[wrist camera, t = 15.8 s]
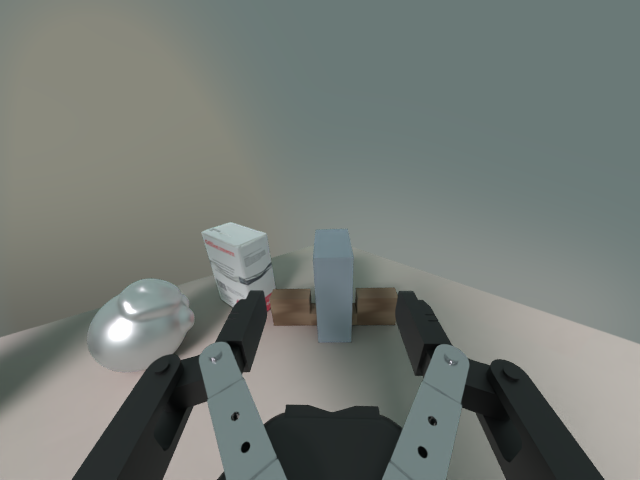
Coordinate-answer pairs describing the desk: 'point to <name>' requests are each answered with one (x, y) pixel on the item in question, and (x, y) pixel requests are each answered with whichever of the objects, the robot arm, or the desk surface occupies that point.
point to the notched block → (333, 284)
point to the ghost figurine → (139, 326)
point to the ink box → (239, 261)
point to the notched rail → (366, 310)
